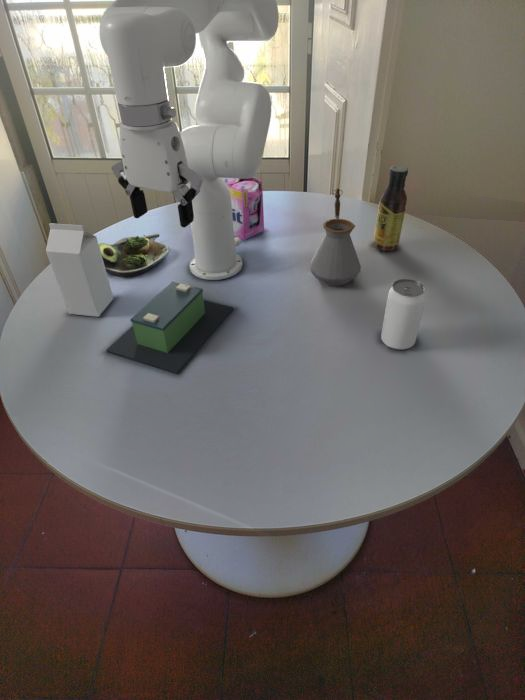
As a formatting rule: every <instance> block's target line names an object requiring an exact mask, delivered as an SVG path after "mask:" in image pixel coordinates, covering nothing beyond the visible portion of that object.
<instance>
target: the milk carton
mask: <svg viewBox="0 0 525 700" xmlns="http://www.w3.org/2000/svg"><path fill="white" fill-rule="evenodd" d="M48 226H49V228H50V229H49V233H48V238H47V243H46V247H45V252H46V256H47V258H48V260H49V263H50V266H51V269H52V272H53V274H54V277H55V280H56V282H57V286H58V288H59V292H60V293H61V296H62V299H63V302H64V305H65V307H66V310H67V314H69V315H77V316H88V317H95V318H98V317H100V316H101V315H102V314H103V312H104V311H105V310H106V309H107V308H108V306H109V305H110V304H111V302H112V301H113V300H114V294H113V289H112V288H111V287H112V286H111V284H110V280H109V276H108V273H107V272H106V269H105V266H104V262H103V258H102V255H101V251H100V248H99V244H100V243H99V240H98V237H97V236H96V235H94V234H92V233H90V232H88V231H86V230H85V229H84V226H83V224H82V225H81V224H67V223H52V222H50V223H48Z"/></svg>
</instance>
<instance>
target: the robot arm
mask: <svg viewBox="0 0 525 700" xmlns="http://www.w3.org/2000/svg"><path fill="white" fill-rule="evenodd" d="M279 15H280V14H279V7H278V2H277V0H114V1H113V2H111V4H109V5H108V6H107V8H106V9H105V10H104V12H103V14H102V16H101V19H100V22H99V41H100V44H101V47H102V49H103V52H104V53H105V55H106V56H107V59H108V64H109V69H110V73H111V78H112V83H113V88H114V93H115V99H116V102H117V107H118V112H119V118H120V123H119V143H120V152H121V153H120V154H121V160H120V161H119V162H117V163H115V164H113V165H112V166H111V170H112V172H113V174H114V176H115V177H116V179H117V182H118V184H119V185H120V186H121V187H122V188H123V189H124V193H125V195H126V196H128V197H129V201H130V205H131V209H132V215H133V217H134V219H139V218H141V217H143V216H144V215H146V214H147V213H148V212H149V211H148V205H147V201H146V196H145V192H144V190H143V189H145V190H151V191H157V192H164V193H172V194H173V196H174V197H175V198H176V200H177V202H179V204H178V205H177V211H178V217H179V225H180V227H181V228H184V229H185V228H187V226H189V225H190V229H191V230H190V231H191V237H192V245H193V251H194V252H193V253H194V257H193V258H192V259H191V260H190V262H189V270H190V272H191V274H192V275H193V276H194V277H197V278H198V279H202V280H206V281H220V280H225V279H228V278H231V277H234V276H235V275H237V274H239V272H241V270H242V268H243V258H242V257H241V256H240V255H239V254H237V253H236V250H237V247H238V246H240V245H241V243H242V239H241V238H239V237H236V236H234V231H233V217H232V202H231V194H230V191H229V188H228V186H227V185H226V183H225V181H224V180H223V178H237V179H249V178H255V176H256V175H257V174H258V173H259V170H260V168H261V165H262V161H263V157H264V152H265V147H266V142H267V139H268V134H269V129H270V123H271V118H272V100H271V99H272V98H271V94H270V92H269V90H268V88H267V87H266V86H265V85H263V84H262V83H260V82H253V81H244V80H245V68H244V65H243V63H242V61H241V60H240V58H239V56H238V55H237V54H236V53H235V51H234V50H233V49H232V48H231V47H230V46H229V44H228V43H264V42H269V41H271V40H272V39H273V38H274V37H275V35H276V33H277V31H278V27H279V19H280V18H279V17H280V16H279ZM197 34H198V37H199V42H200V47H201V50H202V51H201V52H202V55H203V59H204V69H203V73H202V77H201V81H200V85H199V88H198V92H197V96H196V100H195V104H194V117H195V121H196V123H197V124H198V125H192V126H188V127H185V128H184V129H182V130H181V131H180V128H179V126H178V123H177V122H176V121H174V120H172V119H174V118H176V116H177V110H176V108H175V107H171V105H170V100H169V95H168V94H169V93H168V87H167V80H166V79H167V78H166V73H165V68H175V67H181V66H184V65H185V64H186V63H187V62H189V61H190V59H191V58H192V56H193V54H194V53H195V49H196V42H197Z"/></svg>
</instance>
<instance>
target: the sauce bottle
mask: <svg viewBox="0 0 525 700" xmlns="http://www.w3.org/2000/svg"><path fill="white" fill-rule="evenodd" d="M408 174H409V168H408V167H407V166H405V165H400V164H395V165H392V166H390V168H389V171H388V175H389V176H388V182H387V186H386V188H385V190H384V192H383V193H382V196H381V197H380V199H379V203H378V209H377V215H376V221H375V228H374V235H373V246H374V248H376V249H378V250H379V251H381V252H391V251H395V250H396V249H397V248H398V245H399V243H400V238H401V234H402V228H403V223H404V218H405V213H406V205H407V202H408V201H407V200H408V197H407V193H406V191H405V186H406V185H405V184H406V180H407V176H408Z"/></svg>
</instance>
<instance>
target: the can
mask: <svg viewBox="0 0 525 700" xmlns="http://www.w3.org/2000/svg"><path fill="white" fill-rule="evenodd" d="M391 284H392V285H391V288H390V289H389V290H388V294H387V299H386V304H385V310H384V316H383V321H382V328H381V334H380V340H381V341H382V342H383V344H384V345H385V346H386V347H388V348H390V349H393V350H397V351H405V350H408V349H410V348H412V347H413V346H415V344H416V341H417V337H418V333H419V328H420V324H421V320H422V315H423V312H424V307H425V303H426V287H425V285H424V284H423V283H422V282H420V281H418V280H415V279H411V278H400V279H396V280H395V281H393V283H391Z"/></svg>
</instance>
